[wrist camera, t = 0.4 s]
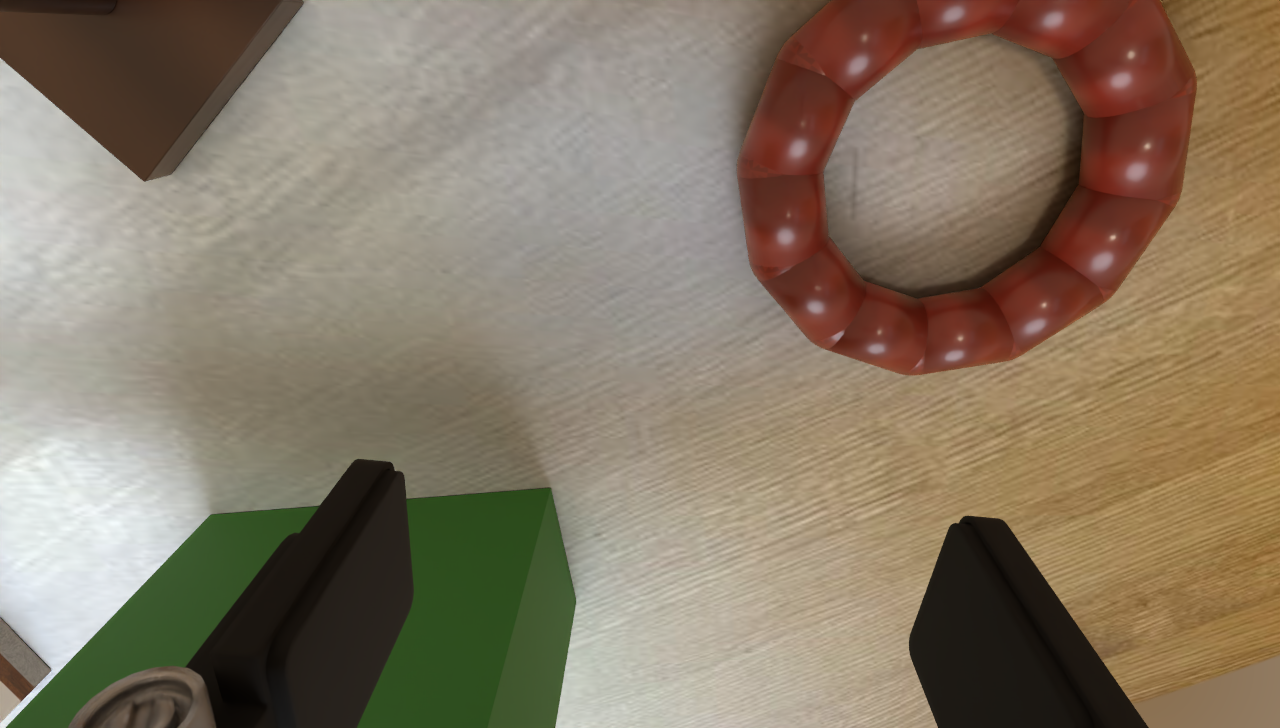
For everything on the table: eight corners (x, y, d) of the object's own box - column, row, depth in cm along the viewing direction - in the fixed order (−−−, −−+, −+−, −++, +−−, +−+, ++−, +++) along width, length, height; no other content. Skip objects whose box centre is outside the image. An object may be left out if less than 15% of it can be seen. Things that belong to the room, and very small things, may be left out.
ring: (1026, -183, 20) (1080, -216, 18) (1221, 190, 25) (1287, 208, 22) (657, 152, 25) (655, 166, 23) (877, 414, 30) (897, 451, 27)
